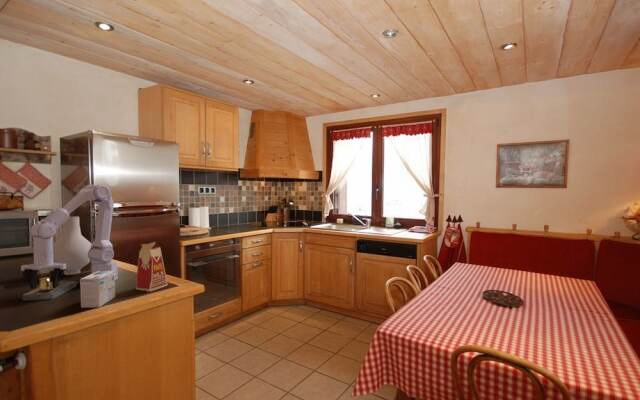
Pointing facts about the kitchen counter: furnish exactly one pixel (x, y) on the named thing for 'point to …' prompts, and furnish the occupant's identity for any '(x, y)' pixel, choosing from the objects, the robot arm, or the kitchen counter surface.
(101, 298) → the light bulb box
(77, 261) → the vase
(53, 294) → the manifold plate
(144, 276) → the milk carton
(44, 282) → the brass nipple
